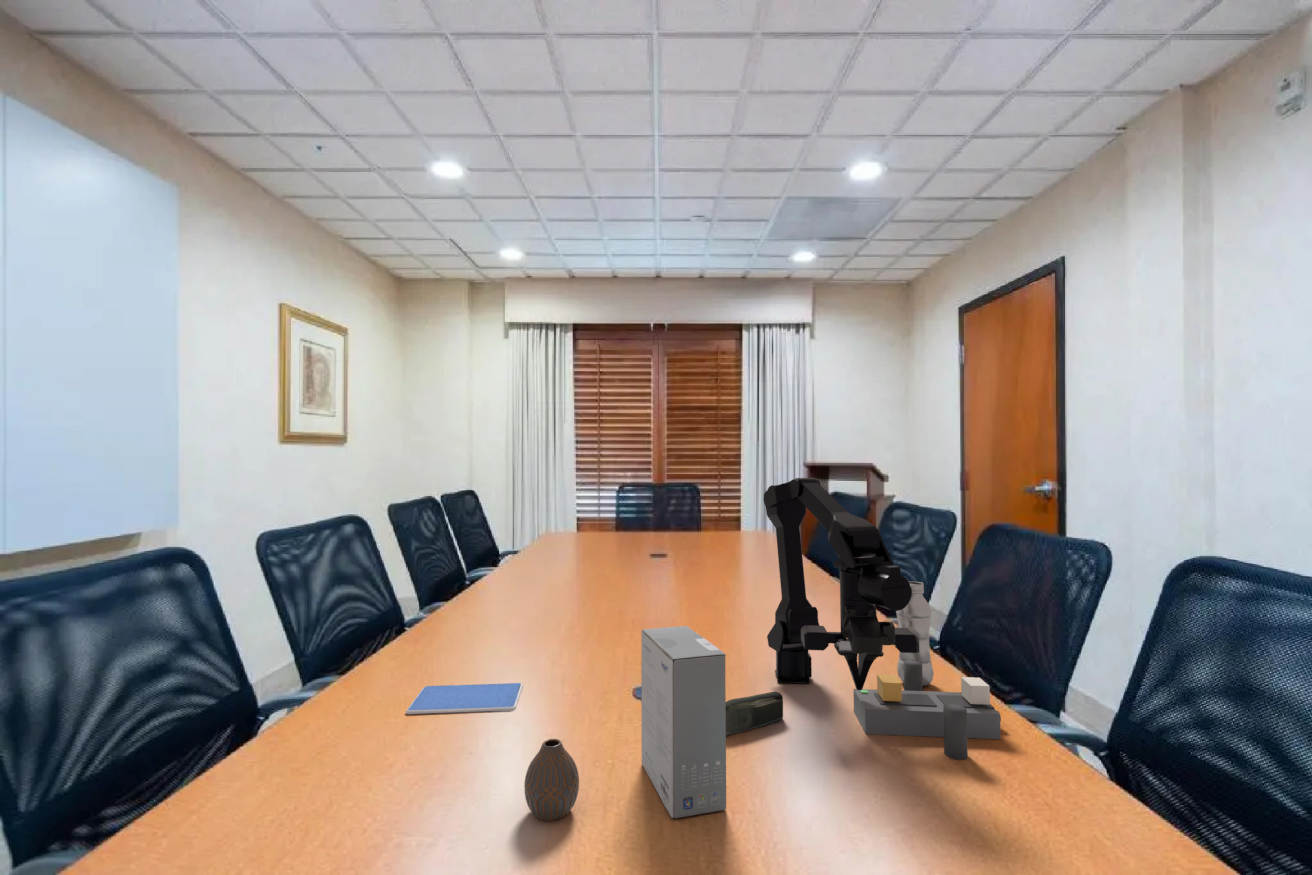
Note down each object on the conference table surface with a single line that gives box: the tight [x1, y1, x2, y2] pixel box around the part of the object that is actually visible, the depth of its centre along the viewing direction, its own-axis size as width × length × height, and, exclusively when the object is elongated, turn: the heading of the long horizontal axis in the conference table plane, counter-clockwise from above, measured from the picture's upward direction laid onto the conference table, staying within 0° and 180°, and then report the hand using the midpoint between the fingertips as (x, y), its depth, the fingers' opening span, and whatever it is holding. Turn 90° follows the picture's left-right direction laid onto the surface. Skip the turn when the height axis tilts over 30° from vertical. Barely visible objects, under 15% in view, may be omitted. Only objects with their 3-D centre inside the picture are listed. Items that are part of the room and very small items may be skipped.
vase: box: [523, 738, 580, 822], centre depth 80 cm, size 7×7×9 cm
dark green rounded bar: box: [726, 690, 784, 737], centre depth 105 cm, size 5×3×15 cm
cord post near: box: [943, 704, 969, 761], centre depth 95 cm, size 3×3×7 cm
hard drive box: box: [640, 625, 727, 819], centre depth 86 cm, size 16×8×20 cm, turn 17°
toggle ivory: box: [960, 676, 991, 705], centre depth 104 cm, size 3×4×3 cm
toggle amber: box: [876, 674, 902, 701], centre depth 106 cm, size 3×4×3 cm
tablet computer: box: [405, 682, 524, 715], centre depth 117 cm, size 19×13×1 cm, turn 95°
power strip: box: [853, 688, 1002, 740], centre depth 105 cm, size 23×9×4 cm, turn 84°
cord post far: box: [903, 660, 924, 691], centre depth 115 cm, size 3×3×7 cm
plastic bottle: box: [895, 580, 934, 687], centre depth 124 cm, size 6×7×20 cm
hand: (858, 689), depth 106 cm, fingers closed
